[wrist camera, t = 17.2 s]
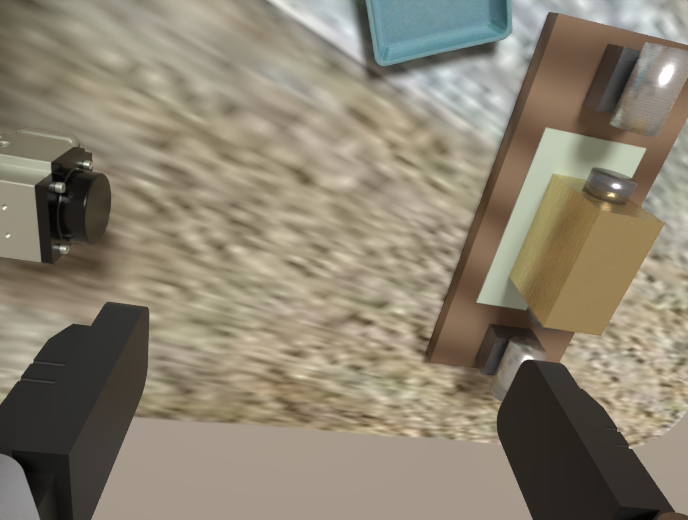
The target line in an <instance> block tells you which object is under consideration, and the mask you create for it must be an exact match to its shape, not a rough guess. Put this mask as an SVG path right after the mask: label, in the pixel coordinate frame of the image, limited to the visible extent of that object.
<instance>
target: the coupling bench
mask: <svg viewBox="0 0 688 520" xmlns="http://www.w3.org/2000/svg"><path fill="white" fill-rule="evenodd" d="M687 118H688V45H685V44H681V43H677V42H673V41H669V40H665V39H661V38H657V37H653V36H648V35H644V34H640V33H636V32H632V31H628V30H624V29H620V28H616V27H612V26H608V25H604V24H600V23H596V22H592V21H588V20H584V19H580V18H576V17H571V16H567V15H563V14H559V13H552V12H549V14H548V16H547V19H546V22H545V25H544V28H543V30H542V33H541V36H540V39H539V41H538V44H537V47H536V50H535V52H534V55H533V58H532V61H531V64H530V66H529V69H528V72H527V75H526V77H525V80H524V83H523V86H522V89H521V91H520V94H519V97H518V100H517V102H516V105H515V108H514V111H513V113H512V116H511V119H510V122H509V125H508V127H507V130H506V133H505V136H504V138H503V141H502V144H501V147H500V149H499V152H498V155H497V158H496V161H495V163H494V166H493V169H492V172H491V174H490V177H489V180H488V183H487V186H486V188H485V191H484V194H483V197H482V199H481V202H480V205H479V208H478V210H477V213H476V216H475V219H474V222H473V224H472V227H471V230H470V233H469V235H468V238H467V241H466V244H465V246H464V249H463V252H462V255H461V258H460V260H459V263H458V266H457V269H456V271H455V274H454V277H453V280H452V282H451V285H450V288H449V291H448V294H447V296H446V299H445V302H444V305H443V307H442V310H441V313H440V316H439V319H438V321H437V324H436V327H435V330H434V332H433V335H432V338H431V341H430V343H429V346H428V349H427V354H428V357H429V360H430V362H434V363H442V364H450V365H458V366H465V367H473V368H479V369H480V372H481V374H487V375H494V377H493V379H492V381H491V383H490V386H489V388H490V391H491V393H492V395H493V396H494V397H495V398H496V399H498V400H499V401H501V402H503V400H504V398H505V396H506V393H507V391H508V389H509V387H510V385H511V383H512V381H513V379H514V377H515V375H516V373H517V371H518V368H519V366H520V365H521V363H522V362H523V361H524V360H526V359H533V360H541V361H548V362H556V363H559V362H560V360H561V358H562V356H563V354H564V352H565V350H566V348H567V346H568V344H569V343H570V341H571V339H572V337H573V335H574V333H575V332H572V331H566V330H561V331H557V332H554V331H548V330H545V329H542V328H540V327H538V326H536V325H535V324H533V323H532V322H531V321H529V320H528V318H527V317H526V315H525V311H526V309H527V307H528V304H527V302H526V301H525V299H524V298H523V296H522V295H521V293H520V292H519V290H518V289H517V287H516V286H515V284H514V283H513V281H512V280H511V278H510V277H509V275H510V272H511V270H512V268H513V265H514V263H515V261H516V259H517V256H518V254H519V252H520V249H521V247H522V245H523V242H524V240H525V238H526V235H527V233H528V231H529V228H530V226H531V224H532V221H533V219H534V217H535V214H536V212H537V210H538V207H539V205H540V203H541V200H542V198H543V196H544V193H545V191H546V189H547V186H548V184H549V182H550V180H551V177H552V175H553V173H555V174H560V175H565V176H570V177H574V178H579V179H584V180H587V178H588V176H589V174H590V171H591V169H592V168H593V167H598V168H604V169H608V170H612V171H615V172H618V173H621V174H623V175H626V176H628V177H630V178H632V179H634V180H636V181H637V182H638V185H637V187H636V189H635V191H634V193H633V195H632V197H631V198H630V200H632V201H633V202H635V203H636V204H637V205H639V206H640V207H641V205H642V203H643V201H644V200H645V198H646V196H647V194H648V192H649V190H650V188H651V186H652V184H653V182H654V180H655V179H656V177H657V175H658V173H659V171H660V169H661V167H662V165H663V163H664V161H665V160H666V158H667V156H668V154H669V152H670V150H671V148H672V146H673V144H674V142H675V140H676V139H677V137H678V135H679V133H680V131H681V129H682V127H683V125H684V123H685V121H686V119H687Z"/></svg>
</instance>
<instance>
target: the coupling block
mask: <svg viewBox="0 0 688 520" xmlns="http://www.w3.org/2000/svg"><path fill="white" fill-rule="evenodd" d="M637 185H638V182H637V181H636V180H634V179H632V178H630V177H628V176H626V175H623V174H621V173H618V172H615V171H612V170H608V169H604V168H598V167H593V168H592V169H591V171H590V174H589V176H588V178H587V180H584V179H579V178H574V177H570V176H565V175H560V174H555V173H553V175H552V177H551V180H550V182H549V184H548V186H547V189H546V191H545V193H544V196H543V198H542V200H541V203H540V205H539V207H538V210H537V212H536V214H535V217H534V219H533V221H532V224H531V226H530V228H529V231H528V233H527V235H526V238H525V240H524V242H523V245H522V247H521V249H520V252H519V254H518V256H517V259H516V261H515V263H514V265H513V268H512V270H511V272H510V275H509V277H510V278H511V280H512V281H513V283H514V284H515V286H516V287H517V289H518V290H519V292H520V293H521V295H522V296H523V298H524V299H525V301H526V302H527V304H528V307H527V309H526V311H525V315H526V317H527V318H528V320H529V321H531V322H532V323H533V324H535V325H536V326H538V327H540V328H542V329H545V330H548V331H554V332H557V331H561V330H566V331H572V332H579V333H585V334H592V335H599V336H601V335H602V333H603V331H604V330H605V328H606V326H607V324H608V323H609V321H610V319H611V317H612V316H613V314H614V312H615V310H616V308H617V307H618V305H619V303H620V301H621V300H622V298H623V296H624V294H625V293H626V291H627V289H628V287H629V286H630V284H631V282H632V280H633V278H634V277H635V275H636V273H637V271H638V270H639V268H640V266H641V264H642V263H643V261H644V259H645V257H646V256H647V254H648V252H649V250H650V249H651V247H652V245H653V243H654V241H655V240H656V238H657V236H658V234H659V233H660V231H661V229H662V227H663V226H664V224H665V223H664V222H663V221H661V220H660V219H658V218H657V217H655V216H654V215H652V214H651V213H649V212H648V211H646V210H645V209H643V208H642V207H640V206H639V205H637V204H636V203H635V202H633V201H632V200H630V198H631V197H632V195H633V193H634V191H635V189H636V187H637Z"/></svg>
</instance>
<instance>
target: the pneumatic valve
mask: <svg viewBox="0 0 688 520" xmlns="http://www.w3.org/2000/svg"><path fill="white" fill-rule="evenodd" d="M78 146H79V140H78V139H75V137H74V136H73V135H67V134H61V133H55V132H50V131H44V130H38V129H33V128H27V127H24V128H23V129H22V130H21V129H19V130H18V131H16V134H15V135H14V136H9V135H3V134H0V257H5V258H12V259H19V260H27V261H34V262H41V263H48V264H54V263H55V262H56V261H57V260H58V259H59V257H60V256H61V255H62V254H68V252H69V246H70V245H71V244H72V243H80V244H87V245H95V244H96V243H98V242H99V241H100V239H101V238H102V236H103V234H104V232H105V229H106V226H107V223H108V219H109V214H110V207H111V190H110V184H109V181H108V178H107V177H106V175H104V174H103V173H98V172H92V153H89V152H85V149H84V148H79V147H78Z"/></svg>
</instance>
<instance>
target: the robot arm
mask: <svg viewBox="0 0 688 520" xmlns="http://www.w3.org/2000/svg"><path fill="white" fill-rule="evenodd" d="M148 340H149V309H148V307H144V306H137V305H129V304H122V303H114V302H107V303H106V304H105V305H104V306H103V308H102V309H101V311H100V312H99V314H98V315H97V317H96V319H95V320H94V322H93V323H92V325H91V326H87V325H79V324H72V325H70V326H69V327H67V328H65V329H64V330H62V331H61V332H59V333H58V334H56V335H55V336H53V337H52V338H50V339H49V340H48V341H47V342H46V344H45V345H44V346H43V348H42V349H41V350H40V352H39V353H38V354H37V356H36V357H35V359H34V362H33V364H30V365H29V367H28V368H27V369H26V371H25V372H24V374H23V375H22V376H21V380H20V381H18V382H17V383H16V384H15V386H14V387H13V388H12V390H11V391H10V393H9V394H8V395H7V397H6V398H5V399H4V401H3V402H2V403H1V405H0V520H91V519H92V516H93V514H94V511H95V509H96V506H97V504H98V501H99V499H100V497H101V494H102V492H103V489H104V487H105V484H106V482H107V479H108V477H109V475H110V472H111V470H112V467H113V465H114V462H115V460H116V457H117V455H118V453H119V450H120V448H121V445H122V443H123V440H124V438H125V435H126V433H127V431H128V428H129V426H130V423H131V421H132V418H133V416H134V413H135V411H136V409H137V406H138V404H139V401H140V399H141V396H142V393H143V390H144V386H145V381H146V376H147V368H148ZM497 431H498V436H499V439H500V441H501V444H502V446H503V449H504V451H505V453H506V456H507V458H508V460H509V463H510V465H511V468H512V470H513V473H514V475H515V477H516V480H517V482H518V485H519V487H520V490H521V492H522V494H523V497H524V499H525V501H526V504H527V507H528V509H529V511H530V514H531V516H532V518H533V520H688V516H687V515H684V514H681V513H676V512H675V511H674V510H673V508H672V507H671V505H670V504H669V502H668V501H667V499H666V498H665V496H664V495H663V493H662V492H661V491H660V489H659V488H658V487H657V485H656V483H655V482H654V480H653V479H652V478H651V476H650V475H649V473H648V472H647V470H646V469H645V467H644V466H643V464H642V463H641V462H640V460H639V459H638V457H637V456H636V454H635V453H634V451H633V450H632V449H629V444H628V443H627V441H626V440H625V438H624V437H623V435H622V434H621V432H617V427H616V425H615V424H614V422H613V421H612V419H611V418H610V417H609V415H608V414H607V412H606V411H605V409H604V408H603V407H602V406H601V405H600V404H599V403H598V402H597V401H595V400H594V399H593V398H592V397H591V396H590V395H589V394H588V393H587V392H585V391H584V390H583V389H580V388H579V386H578V385H577V383H576V382H575V380H574V379H573V377H572V376H571V374H570V373H569V371H568V370H567V368H566V367H565V366H564V365H563V364H561V363H556V362H548V361H541V360H533V359H526V360H524V361H523V362H522V363H521V365H520V366H519V368H518V371H517V373H516V375H515V377H514V379H513V381H512V383H511V385H510V387H509V389H508V391H507V393H506V396H505V398H504V400H503V402H502V404H501V406H500V408H499V411H498V416H497Z"/></svg>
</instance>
